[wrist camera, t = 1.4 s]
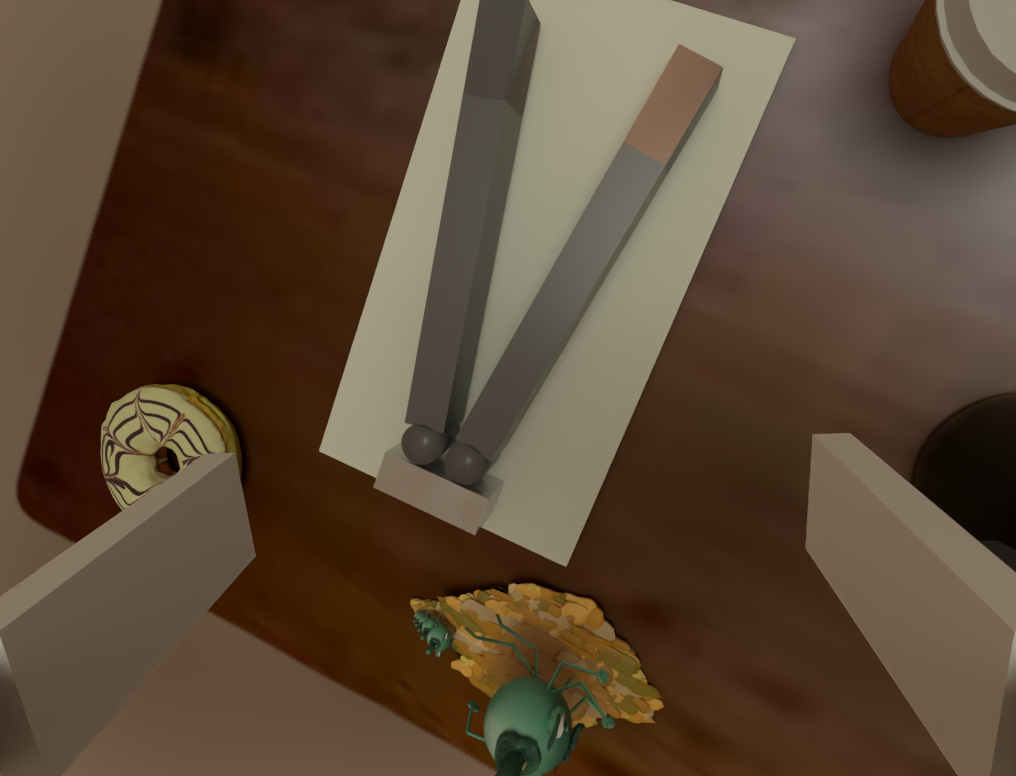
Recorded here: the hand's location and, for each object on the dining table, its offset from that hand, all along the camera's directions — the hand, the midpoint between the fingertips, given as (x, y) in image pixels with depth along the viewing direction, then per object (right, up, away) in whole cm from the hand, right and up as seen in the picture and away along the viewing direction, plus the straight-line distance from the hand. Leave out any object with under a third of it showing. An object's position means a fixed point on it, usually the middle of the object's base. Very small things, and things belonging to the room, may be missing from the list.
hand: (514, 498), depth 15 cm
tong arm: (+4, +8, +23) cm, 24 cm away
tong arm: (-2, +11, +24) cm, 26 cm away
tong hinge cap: (-4, -3, +27) cm, 27 cm away
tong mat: (+1, +9, +24) cm, 26 cm away
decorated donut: (-23, -2, +33) cm, 40 cm away
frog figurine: (+2, -14, +28) cm, 32 cm away
